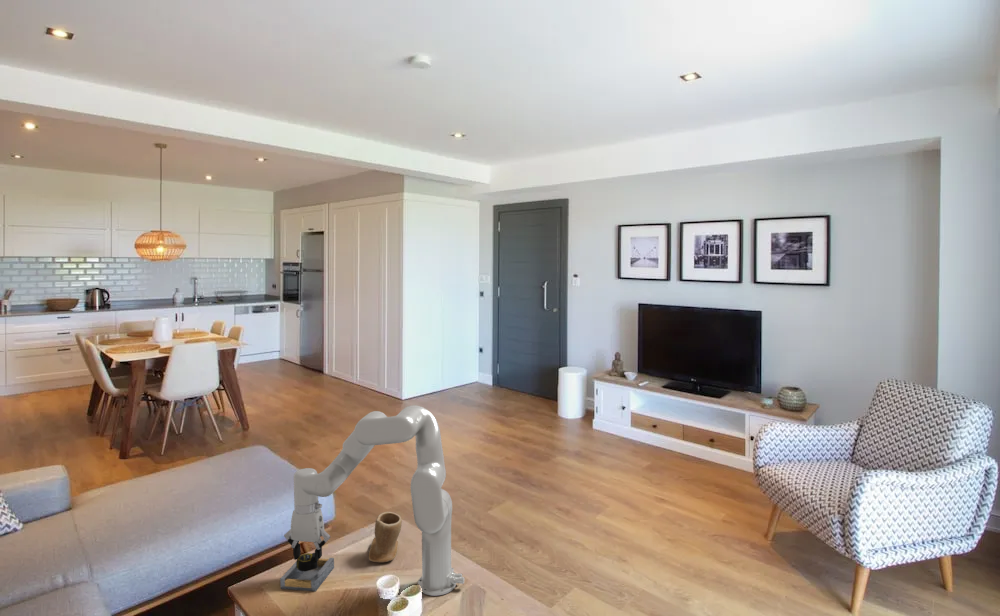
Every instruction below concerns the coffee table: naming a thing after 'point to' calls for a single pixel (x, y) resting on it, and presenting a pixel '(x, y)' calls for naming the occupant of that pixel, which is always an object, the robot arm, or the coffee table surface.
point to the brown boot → (385, 537)
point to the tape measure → (306, 562)
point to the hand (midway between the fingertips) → (307, 557)
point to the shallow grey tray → (307, 576)
